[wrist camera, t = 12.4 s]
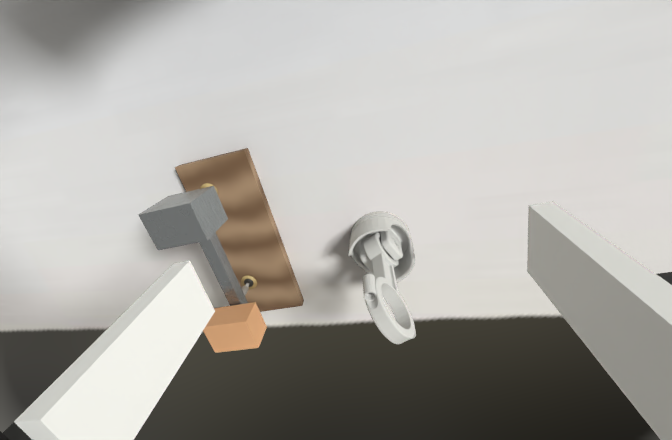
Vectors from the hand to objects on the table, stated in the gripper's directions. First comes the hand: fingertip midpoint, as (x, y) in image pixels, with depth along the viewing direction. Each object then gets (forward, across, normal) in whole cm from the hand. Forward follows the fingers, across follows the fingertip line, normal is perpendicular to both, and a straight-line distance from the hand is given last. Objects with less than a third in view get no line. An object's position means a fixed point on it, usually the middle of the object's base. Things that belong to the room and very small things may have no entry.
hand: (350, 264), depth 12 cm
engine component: (+37, -1, -19) cm, 41 cm away
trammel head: (+34, -24, -23) cm, 47 cm away
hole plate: (+36, -24, -15) cm, 46 cm away
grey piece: (+35, -24, -16) cm, 45 cm away
